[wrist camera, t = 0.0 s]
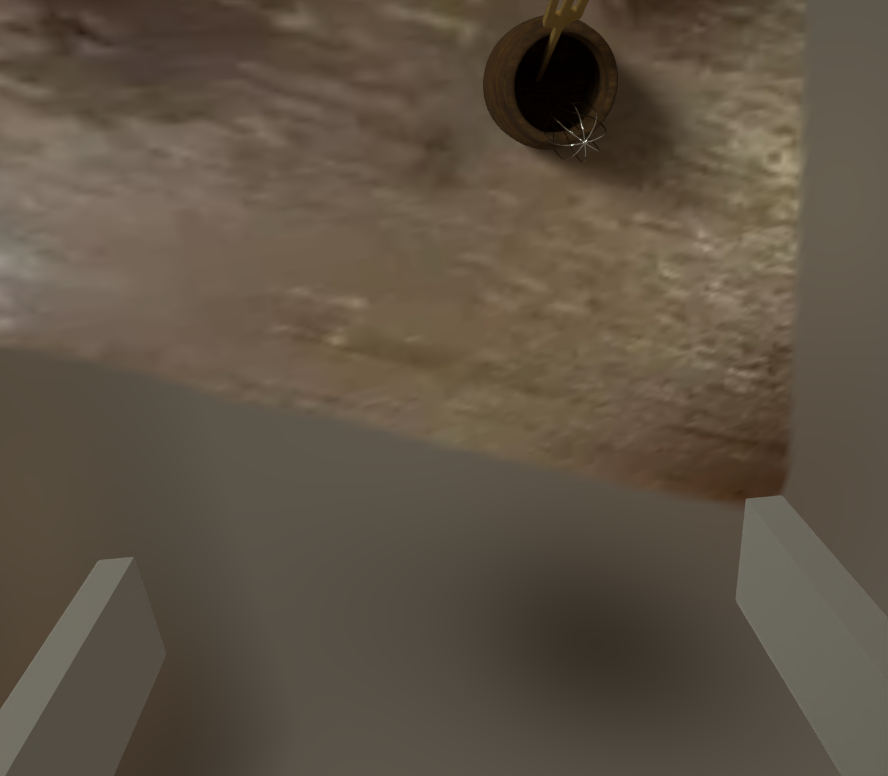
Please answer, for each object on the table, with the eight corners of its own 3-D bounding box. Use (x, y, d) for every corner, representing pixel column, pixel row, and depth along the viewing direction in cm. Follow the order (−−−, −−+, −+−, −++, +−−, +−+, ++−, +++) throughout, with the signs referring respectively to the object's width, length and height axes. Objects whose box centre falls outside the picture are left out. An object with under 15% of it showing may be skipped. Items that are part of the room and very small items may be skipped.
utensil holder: (493, 155, 39) (523, 186, 28) (469, 29, 36) (491, 9, 25) (600, 128, 38) (673, 149, 27) (582, 0, 36) (656, -34, 25)
